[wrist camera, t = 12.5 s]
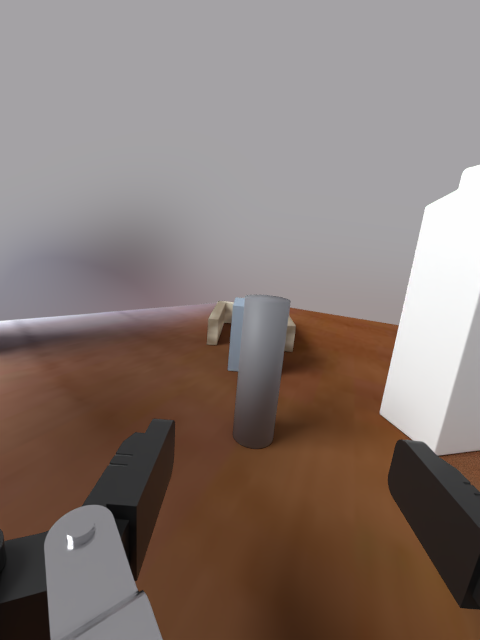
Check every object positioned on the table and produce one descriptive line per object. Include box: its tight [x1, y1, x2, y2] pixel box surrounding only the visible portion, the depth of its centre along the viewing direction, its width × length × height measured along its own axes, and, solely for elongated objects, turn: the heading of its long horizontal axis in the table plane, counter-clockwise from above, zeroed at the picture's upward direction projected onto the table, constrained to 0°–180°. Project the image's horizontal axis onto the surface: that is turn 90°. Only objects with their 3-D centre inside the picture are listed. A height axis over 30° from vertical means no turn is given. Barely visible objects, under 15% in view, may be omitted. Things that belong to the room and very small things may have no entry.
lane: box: [207, 301, 296, 352], centre depth 50 cm, size 13×16×4 cm
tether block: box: [228, 295, 290, 449], centre depth 29 cm, size 6×20×11 cm, turn 178°
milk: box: [380, 165, 480, 456], centre depth 23 cm, size 6×6×22 cm
